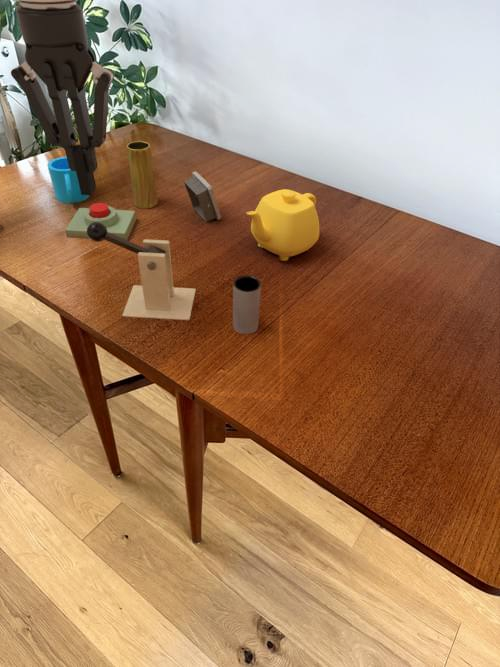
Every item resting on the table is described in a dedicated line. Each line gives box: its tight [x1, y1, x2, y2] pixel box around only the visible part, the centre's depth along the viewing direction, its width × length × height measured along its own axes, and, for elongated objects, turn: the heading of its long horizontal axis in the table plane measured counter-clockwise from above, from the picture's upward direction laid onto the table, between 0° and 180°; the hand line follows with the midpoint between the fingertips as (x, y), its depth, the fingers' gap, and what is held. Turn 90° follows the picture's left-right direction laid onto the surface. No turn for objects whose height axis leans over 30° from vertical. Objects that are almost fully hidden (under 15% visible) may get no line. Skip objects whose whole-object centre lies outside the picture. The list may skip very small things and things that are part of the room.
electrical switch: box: [183, 170, 222, 223], centre depth 109 cm, size 9×5×9 cm, turn 29°
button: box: [88, 202, 109, 218], centre depth 102 cm, size 4×4×2 cm
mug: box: [47, 156, 91, 204], centre depth 112 cm, size 12×8×8 cm
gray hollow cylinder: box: [232, 274, 262, 335], centre depth 79 cm, size 4×4×10 cm
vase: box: [126, 140, 159, 210], centre depth 110 cm, size 6×6×14 cm
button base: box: [64, 205, 137, 240], centre depth 104 cm, size 13×10×4 cm
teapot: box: [245, 188, 320, 262], centre depth 98 cm, size 14×20×13 cm
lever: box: [87, 222, 166, 255], centre depth 77 cm, size 13×3×3 cm, turn 88°
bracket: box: [121, 238, 197, 321], centre depth 82 cm, size 12×9×13 cm
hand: (88, 190), depth 71 cm, fingers closed
